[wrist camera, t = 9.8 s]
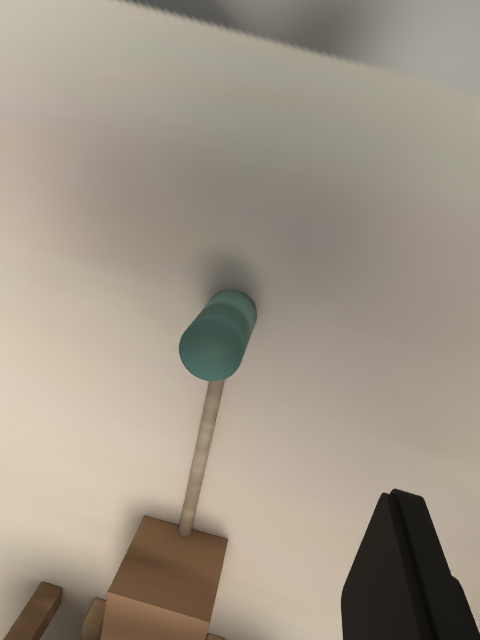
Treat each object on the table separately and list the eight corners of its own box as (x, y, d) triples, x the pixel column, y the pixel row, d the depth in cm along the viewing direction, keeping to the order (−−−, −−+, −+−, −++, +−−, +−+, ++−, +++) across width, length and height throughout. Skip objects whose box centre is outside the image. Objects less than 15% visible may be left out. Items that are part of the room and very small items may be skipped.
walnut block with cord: (211, 602, 26) (191, 693, 22) (133, 579, 27) (96, 663, 22) (288, 303, 20) (283, 338, 16) (186, 278, 21) (150, 305, 16)
